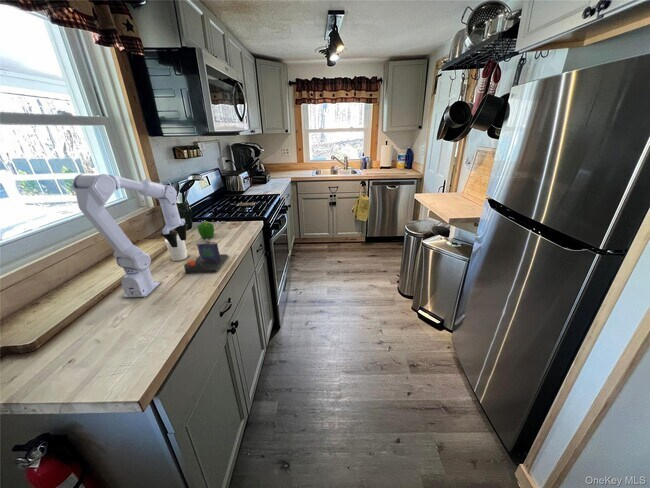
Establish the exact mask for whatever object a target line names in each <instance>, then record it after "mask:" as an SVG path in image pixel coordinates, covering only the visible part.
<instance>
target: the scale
mask: <svg viewBox="0 0 650 488" xmlns="http://www.w3.org/2000/svg"><path fill="white" fill-rule="evenodd" d="M219 254H220V253H219ZM220 258H221V261H220V262H201V260H200V255H199V256H198V257H197V258H196V259H194V260H195V265H194V266H188V264H187V262H186V263H185V264H184V265H183V267H184V271H185V274H204V273H205V274H206V273H207V274H208V273H211V274H212V273H218V271H219V270H220V268H221V267H222V266H223V264H224V263H225V262H226V260H228V258H229V254H227V253H226V254H220Z"/></svg>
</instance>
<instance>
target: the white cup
mask: <svg viewBox="0 0 650 488" xmlns="http://www.w3.org/2000/svg"><path fill="white" fill-rule="evenodd" d="M164 243H165V246H166V249H167V251H168V254H169V256H170V258H171V260H172V261H175V262H179V261H183V260H185V259H187V258H188V252H187V246H186V240H180V238H179V235H177V244H178V246H177V247H172V246H171V245H170V243H169V242H168V241H167V239H166V238H165V239H164Z"/></svg>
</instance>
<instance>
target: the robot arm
mask: <svg viewBox="0 0 650 488" xmlns="http://www.w3.org/2000/svg"><path fill="white" fill-rule="evenodd" d="M71 188H72V190H73V191H74V192H75V197H76V201H77V206H78V209H79V210H80V212H81V213H82V214H83V215H84V216H85V217H86V219H87V220H88V221H89V222H90V224H91V225H92V226H93V227H94V228H95V229H96V230H97V232H98V233H99V234H100V235H101V237H103V239H104V240H105V241H106V242H107V243H108V245H109V246H110V247H111V248H112V249H113V251H114V252H113V254H112V256H113V257H114V258H115V262H116V265H117V266H118V267H119V268H122V269H123V271H124V276H123V277H122V278H121V280H120V283H121V286H122V289H123V291H124V294H125V295H124V296H123V297H124V298H143V297H144V298H145V297H147V296H148V295H150V293H151V292H153V291H154V289H156V288H157V287H158V286H159V285H160V284H161V282H160V281H154V279H153V276H152V273H151V270H150V265H151V263H152V258H151V256H150V254H148V253H146V252H144V250H142V248H140V247H138V246H136V245H135V244H133V243H132V242H131V240H130V239H129V237H128V236H127V235H126V234H125V233H124V230H122V228H121V227H120V226H119V224H118V223H117V222H116V220H115V219H114V218H113V216H112V215H111V214H110V213H109V211H108V210H107V209H106V208H105V206H106V204H107V203H108V201H109V199H110V198H111V197H112V195H113V194H114V193H115V191H116V190H120V189H124V190H130V191H136V192H138V194H139V195H140V196H145V197H149V198H155V199H156V200H158V202H159V205H160V206H159V207H160V209H161V212H162V215H163V219H164V222H165V226H164V227H163V228H162V229H161V230H162V231H161V236H162V237H163V238H165V239H167V241H168V242H169V243H170V245H171V246H172V247H177V246H178V244H177V236H179V238H180V240H185V241H187V230H188V227H189V224H188V223H186V220H185V219H186V218H181V216H180V212H179V209H178V206H177V195H178V191H177V190H176V188H174V187H173V186H172V185H169V184H163V183H162V182H155V181H152V180H151V179H148V178H146V179H142V180H140V181H137V180H133V179H129V178H126V177H123V176H119V175H115V174H107V173H97V174H96V173H79V174H77V175H76V176H75V177H74V178H73V180H72V183H71ZM173 230H175V231H173Z"/></svg>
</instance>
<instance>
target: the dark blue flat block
mask: <svg viewBox="0 0 650 488" xmlns="http://www.w3.org/2000/svg"><path fill="white" fill-rule="evenodd" d="M196 247H197V251H198V254H199V256H200V260H201V262H220V261H221V258H220V250H219V246H218V243H217V241H210V240H209V238H205V239H203V241H200V242H197V243H196Z"/></svg>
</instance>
